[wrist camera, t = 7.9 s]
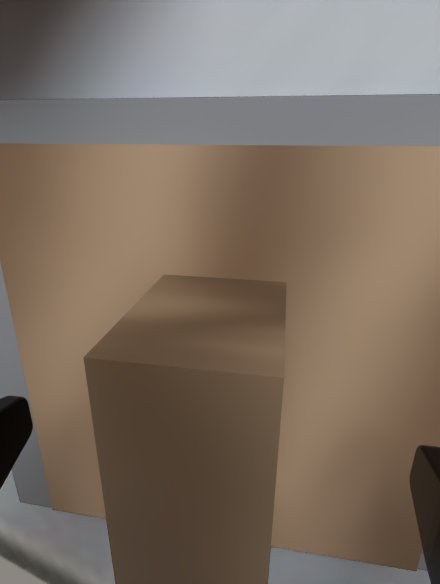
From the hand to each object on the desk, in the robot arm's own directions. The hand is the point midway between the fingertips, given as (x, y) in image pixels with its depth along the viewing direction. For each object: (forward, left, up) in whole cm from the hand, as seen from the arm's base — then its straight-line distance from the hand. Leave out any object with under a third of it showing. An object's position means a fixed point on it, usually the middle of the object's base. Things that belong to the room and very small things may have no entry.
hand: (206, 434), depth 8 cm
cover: (0, 0, -3) cm, 3 cm away
